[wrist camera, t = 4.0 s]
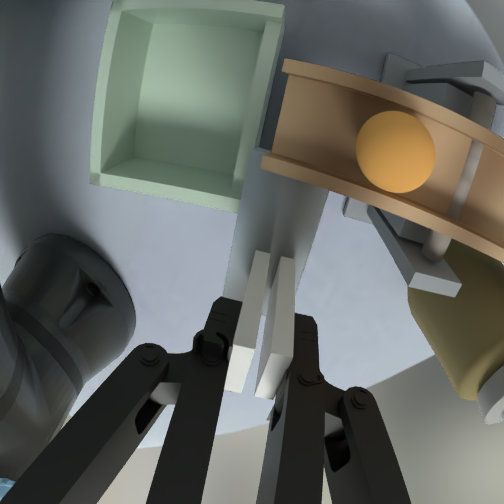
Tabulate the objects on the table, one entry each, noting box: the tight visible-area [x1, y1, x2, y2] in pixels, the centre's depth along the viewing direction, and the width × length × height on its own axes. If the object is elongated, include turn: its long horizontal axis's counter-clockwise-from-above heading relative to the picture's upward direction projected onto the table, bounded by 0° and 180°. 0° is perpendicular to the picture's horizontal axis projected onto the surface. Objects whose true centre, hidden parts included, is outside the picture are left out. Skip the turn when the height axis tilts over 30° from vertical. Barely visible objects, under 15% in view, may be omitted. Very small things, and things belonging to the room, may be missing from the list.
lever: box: [222, 58, 504, 316], centre depth 13 cm, size 19×15×6 cm
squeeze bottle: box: [408, 239, 504, 424], centre depth 14 cm, size 8×8×18 cm
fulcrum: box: [343, 53, 504, 297], centre depth 14 cm, size 6×12×10 cm, turn 169°
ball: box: [356, 111, 435, 193], centre depth 10 cm, size 3×3×3 cm
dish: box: [90, 0, 286, 213], centre depth 16 cm, size 10×12×5 cm
